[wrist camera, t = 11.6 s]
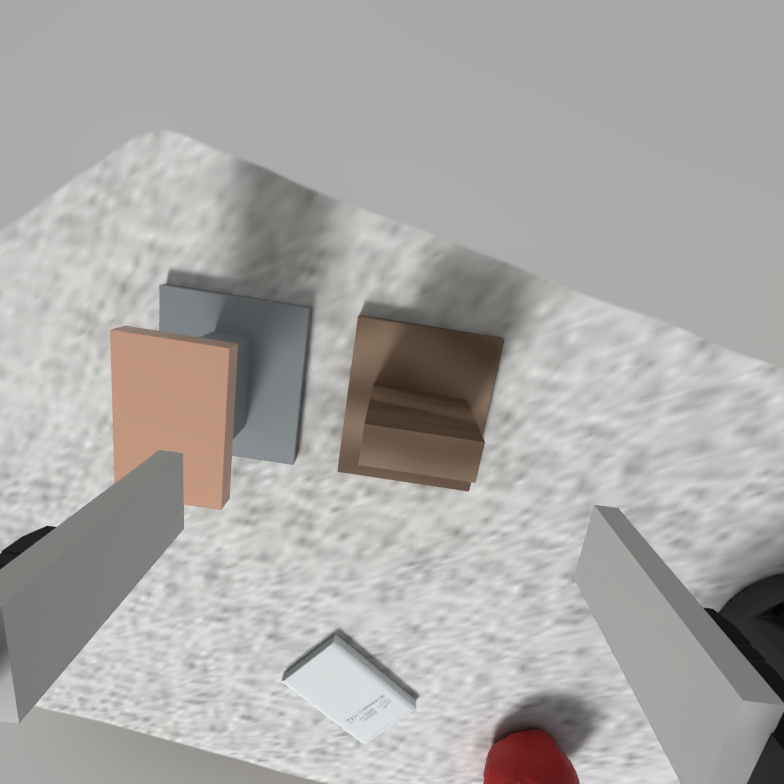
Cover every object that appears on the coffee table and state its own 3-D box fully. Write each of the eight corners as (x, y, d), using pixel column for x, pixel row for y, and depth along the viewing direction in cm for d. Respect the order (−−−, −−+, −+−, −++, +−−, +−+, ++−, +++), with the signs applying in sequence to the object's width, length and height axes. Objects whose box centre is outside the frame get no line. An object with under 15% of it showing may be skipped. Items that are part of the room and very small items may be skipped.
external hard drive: (336, 629, 48) (416, 696, 50) (284, 669, 49) (363, 732, 52) (334, 642, 46) (416, 710, 49) (280, 683, 48) (362, 747, 50)
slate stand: (295, 459, 41) (263, 521, 32) (164, 440, 41) (92, 496, 32) (311, 307, 37) (279, 326, 28) (165, 284, 37) (83, 294, 27)
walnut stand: (467, 486, 42) (486, 555, 32) (338, 466, 41) (319, 530, 32) (501, 337, 38) (535, 366, 28) (359, 315, 37) (344, 336, 28)
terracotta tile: (238, 343, 28) (229, 348, 27) (229, 498, 31) (221, 509, 30) (125, 325, 28) (110, 329, 26) (128, 483, 31) (115, 494, 30)
